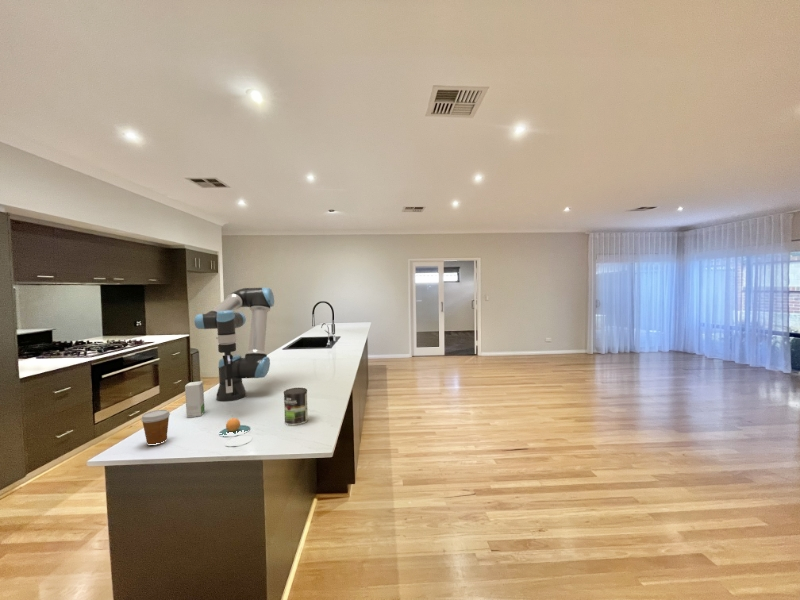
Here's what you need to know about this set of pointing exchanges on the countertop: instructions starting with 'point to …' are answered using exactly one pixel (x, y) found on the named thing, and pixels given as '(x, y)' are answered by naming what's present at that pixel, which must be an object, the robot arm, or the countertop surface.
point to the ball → (233, 425)
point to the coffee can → (295, 406)
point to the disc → (242, 427)
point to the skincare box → (194, 399)
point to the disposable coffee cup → (155, 426)
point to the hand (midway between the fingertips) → (229, 392)
